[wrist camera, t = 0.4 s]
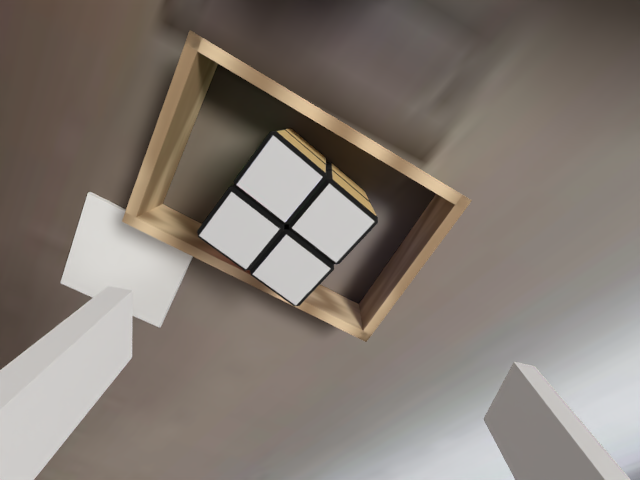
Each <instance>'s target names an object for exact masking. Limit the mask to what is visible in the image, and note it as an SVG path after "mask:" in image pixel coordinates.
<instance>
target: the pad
mask: <svg viewBox="0 0 640 480" xmlns="http://www.w3.org/2000/svg"><path fill="white" fill-rule="evenodd" d="M125 211H126V209H124V208H122V207H120V206H118V205H116V204H114V203H112V202H110V201H108V200H106V199H104V198H102V197H100V196H98V195H96V194H94V193H92V192H89V193H88V194H87V198H86V201H85V204H84V207H83V211H82V214H81V217H80V220H79V224H78V227H77V230H76V234H75V237H74V240H73V243H72V247H71V250H70V253H69V256H68V260H67V263H66V266H65V269H64V273H63V276H62V279H61V284H64V285H66V286H68V287H70V288H73V289H75V290H77V291H79V292H81V293H84V294H86V295H88V296H90V297H93V298H94V297H95V296H96V295H97V294H99V293H100V292H101V291H103V290H104V289H105V288H106V287H108V286H111V287H117V288H122V289H127V290H132V291H133V292H132V315H133V316H135V317H137V318H139V319H141V320H144V321H146V322H148V323H150V324H153V325H155V326H157V327H159V328H160V327H161V326H162V323H163V321H164V319H165V317H166V315H167V312H168V310H169V308H170V306H171V304H172V302H173V299H174V297H175V295H176V293H177V291H178V288H179V286H180V284H181V282H182V280H183V278H184V275H185V273H186V271H187V269H188V267H189V264H190V262H191V260H192V258H193V256H191V255H189V254H187V253H185V252H183V251H181V250H179V249H177V248H175V247H173V246H171V245H169V244H166V243H164V242H162V241H160V240H158V239H156V238H154V237H152V236H150V235H148V234H146V233H144V232H142V231H140V230H138V229H136V228H134V227H132V226H130V225H128V224H126V223H124V222H122V219H123V217H124V214H125Z"/></svg>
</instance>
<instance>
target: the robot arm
mask: <svg viewBox="0 0 640 480" xmlns="http://www.w3.org/2000/svg"><path fill="white" fill-rule="evenodd" d="M132 292H133V291H132V290H127V289H122V288H117V287H111V286H108V287H106V288H105V289H104V290H103V291H101V292H100V293H99V294H97V295H96V296H95V297H94V298H92V299H91V300H90V301H88V302H87V303H86V304H85V305H83V306H82V307H81V308H80V309H78V310H77V311H76V312H74V313H73V314H72V315H71V316H69V317H68V318H67V319H65V320H64V321H63V322H62V323H60V324H59V325H58V326H56V327H55V328H54V329H53V330H51V331H50V332H49V333H47V334H46V335H45V336H44V337H42V338H41V339H40V340H38V341H37V342H36V343H35V344H33V345H32V346H31V347H29V348H28V349H27V350H26V351H24V352H23V353H22V354H20V355H19V356H18V357H17V358H15V359H14V360H13V361H11V362H10V363H9V364H8V365H6V366H5V367H4V368H2V369H1V370H0V480H34V479H35V478H36V476H37V475H38V474H39V473H40V471H41V470H42V469H43V468H44V466H45V465H46V464H47V463H48V461H49V460H50V459H51V458H52V456H53V455H54V454H55V453H56V451H57V450H58V449H59V448H60V446H61V445H62V444H63V443H64V442H65V440H66V439H67V438H68V437H69V435H70V434H71V433H72V432H73V430H74V429H75V428H76V427H77V425H78V424H79V423H80V422H81V420H82V419H83V418H84V417H85V415H86V414H87V413H88V412H89V410H90V409H91V408H92V407H93V405H94V404H95V403H96V402H97V400H98V399H99V398H100V397H101V395H102V394H103V393H104V392H105V390H106V389H107V388H108V387H109V386H110V384H111V383H112V382H113V381H114V379H115V378H116V377H117V376H118V374H119V373H120V372H121V371H122V369H123V368H124V367H125V366H126V364H127V363H128V362H129V361H130V359H131V358H132ZM484 421H485V423H486V425H487V427H488V429H489V430H490V432H491V434H492V436H493V438H494V440H495V442H496V444H497V446H498V448H499V449H500V451H501V453H502V455H503V457H504V459H505V461H506V463H507V465H508V467H509V468H510V470H511V472H512V474H513V476H514V478H515V480H630V478H629V477H628V476H627V475H626V474H625V473H624V471H623V470H622V469H621V468H620V467H619V465H618V464H617V463H616V462H615V461H614V459H613V458H612V457H611V456H610V455H609V454H608V452H607V451H606V450H605V449H604V448H603V446H602V445H601V444H600V443H599V442H598V441H597V439H596V438H595V437H594V436H593V435H592V433H591V432H590V431H589V430H588V429H587V428H586V426H585V425H584V424H583V423H582V422H581V420H580V419H579V418H578V417H577V416H576V415H575V413H574V412H573V411H572V410H571V409H570V407H569V406H568V405H567V404H566V403H565V401H564V400H563V399H562V398H561V397H560V396H559V394H558V393H557V392H556V391H555V390H554V388H553V387H552V386H551V385H550V384H549V383H548V381H547V380H546V379H545V378H544V377H543V375H542V374H541V373H540V372H539V371H538V370H537V368H536V367H535V366H532V365H527V364H521V363H516V362H514V363H513V365H512V367H511V369H510V370H509V372H508V374H507V376H506V378H505V380H504V382H503V383H502V385H501V387H500V389H499V391H498V393H497V395H496V397H495V398H494V400H493V402H492V404H491V406H490V408H489V410H488V412H487V413H486V415H485V417H484Z"/></svg>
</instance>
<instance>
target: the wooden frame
mask: <svg viewBox="0 0 640 480" xmlns="http://www.w3.org/2000/svg"><path fill="white" fill-rule="evenodd" d="M218 64H220V65H221V66H223V67H225V68H226V69H228V70H230V71H231V72H233V73H235V74H236V75H238V76H240V77H242V78H243V79H245V80H247V81H248V82H250V83H252V84H253V85H255V86H257V87H258V88H260V89H262V90H263V91H265V92H267V93H268V94H270V95H272V96H273V97H275V98H277V99H278V100H280V101H282V102H283V103H285V104H287V105H289V106H290V107H292V108H294V109H295V110H297V111H299V112H300V113H302V114H304V115H305V116H307V117H309V118H310V119H312V120H314V121H315V122H317V123H319V124H320V125H322V126H324V127H325V128H327V129H329V130H330V131H332V132H334V133H335V134H337V135H339V136H341V137H342V138H344V139H346V140H347V141H349V142H351V143H352V144H354V145H356V146H357V147H359V148H361V149H362V150H364V151H366V152H367V153H369V154H371V155H372V156H374V157H376V158H377V159H379V160H381V161H382V162H384V163H386V164H388V165H389V166H391V167H393V168H394V169H396V170H398V171H399V172H401V173H403V174H404V175H406V176H408V177H409V178H411V179H413V180H414V181H416V182H418V183H419V184H421V185H423V186H424V187H426V188H428V189H429V190H431V191H433V192H434V193H436V195H435V196H434V198H433V199H432V201H431V202H430V203H429V205H428V206H427V208H426V209H425V211H424V212H423V213H422V215H421V216H420V218H419V219H418V221H417V222H416V223H415V225H414V226H413V228H412V229H411V231H410V232H409V233H408V235H407V236H406V238H405V239H404V241H403V242H402V243H401V245H400V246H399V248H398V249H397V250H396V252H395V253H394V255H393V256H392V258H391V259H390V260H389V262H388V263H387V265H386V266H385V268H384V269H383V270H382V272H381V273H380V275H379V276H378V278H377V279H376V280H375V282H374V283H373V285H372V286H371V288H370V289H369V290H368V292H367V293H366V295H365V296H364V298H363V299H362V300H361V302H360V303H359V304H357V303H355V302H353V301H351V300H349V299H347V298H345V297H344V296H342V295H340V294H338V293H336V292H334V291H332V290H330V289H328V288H326V287H324V286H322V285H319V286H318V287H317V288H316V289H315V290H314V291H313V292H312V293H311V294H310V295H309V296H308V297H307V298H306V299H305V300H304V302H303V303H302V304H301V305H300V306H294V307H296V308H298V309H300V310H302V311H305V312H307V313H309V314H311V315H313V316H315V317H317V318H319V319H321V320H323V321H325V322H327V323H329V324H331V325H333V326H335V327H337V328H339V329H341V330H343V331H345V332H347V333H349V334H351V335H353V336H355V337H357V338H359V339H361V340H363V341H365V342H367V340H368V339H369V338H370V336H371V335H372V334H373V332H374V331H375V330H376V328H377V327H378V326H379V324H380V323H381V321H382V320H383V319H384V317H385V316H386V315H387V313H388V312H389V311H390V309H391V308H392V307H393V305H394V304H395V303H396V301H397V300H398V299H399V297H400V296H401V295H402V293H403V292H404V291H405V289H406V288H407V287H408V285H409V284H410V283H411V281H412V280H413V279H414V277H415V276H416V275H417V273H418V272H419V271H420V269H421V268H422V267H423V265H424V264H425V263H426V261H427V260H428V259H429V257H430V256H431V255H432V253H433V252H434V251H435V249H436V248H437V247H438V245H439V244H440V243H441V241H442V240H443V239H444V237H445V236H446V234H447V233H448V232H449V230H450V229H451V228H452V226H453V225H454V224H455V222H456V221H457V220H458V218H459V217H460V216H461V214H462V213H463V212H464V210H465V209H466V208H467V206H468V205H469V204H470V202H471V201H472V200H470V199H468V198H467V197H465V196H463V195H462V194H460V193H458V192H457V191H455V190H453V189H452V188H450V187H449V186H447V185H445V184H444V183H442V182H440V181H439V180H437V179H435V178H434V177H432V176H430V175H429V174H427V173H425V172H424V171H422V170H420V169H419V168H417V167H415V166H414V165H412V164H410V163H409V162H407V161H405V160H404V159H402V158H401V157H399V156H397V155H396V154H394V153H392V152H391V151H389V150H387V149H386V148H384V147H382V146H381V145H379V144H377V143H376V142H374V141H372V140H371V139H369V138H367V137H366V136H364V135H362V134H361V133H359V132H357V131H356V130H354V129H353V128H351V127H349V126H348V125H346V124H344V123H343V122H341V121H339V120H338V119H336V118H334V117H333V116H331V115H329V114H328V113H326V112H324V111H323V110H321V109H319V108H318V107H316V106H314V105H313V104H311V103H309V102H308V101H306V100H305V99H303V98H301V97H300V96H298V95H296V94H295V93H293V92H291V91H290V90H288V89H286V88H285V87H283V86H281V85H280V84H278V83H276V82H275V81H273V80H271V79H270V78H268V77H266V76H265V75H263V74H261V73H260V72H258V71H257V70H255V69H253V68H252V67H250V66H248V65H247V64H245V63H243V62H242V61H240V60H238V59H237V58H235V57H233V56H232V55H230V54H228V53H227V52H225V51H223V50H222V49H220V48H218V47H217V46H215V45H213V44H212V43H210V42H209V41H207V40H205V39H204V38H202V37H200V36H199V35H197V34H195V33H194V32H192V31H189V34H188V37H187V40H186V42H185V45H184V48H183V51H182V54H181V57H180V59H179V62H178V65H177V68H176V71H175V73H174V76H173V79H172V82H171V85H170V87H169V90H168V93H167V96H166V99H165V101H164V104H163V107H162V110H161V113H160V116H159V118H158V121H157V124H156V127H155V130H154V132H153V135H152V138H151V141H150V144H149V146H148V149H147V152H146V155H145V158H144V160H143V163H142V166H141V169H140V172H139V175H138V177H137V180H136V183H135V186H134V189H133V191H132V194H131V197H130V200H129V203H128V205H127V208H126V211H125V214H124V217H123V219H122V222H124V223H126V224H128V225H130V226H132V227H134V228H136V229H138V230H140V231H142V232H144V233H146V234H148V235H150V236H152V237H154V238H156V239H158V240H160V241H162V242H164V243H166V244H169V245H171V246H173V247H175V248H177V249H179V250H181V251H183V252H185V253H187V254H189V255H191V256H193V257H195V258H197V259H199V260H201V261H203V262H205V263H207V264H209V265H211V266H213V267H215V268H217V269H219V270H221V271H223V272H225V273H227V274H229V275H231V276H233V277H235V278H238V279H240V280H242V281H244V282H246V283H248V284H250V285H252V286H254V287H256V288H258V289H260V290H262V291H264V292H266V293H268V294H270V295H272V296H274V297H276V298H278V299H280V300H282V301H284V302H286V303H288V304H290V303H289V302H287V301H286V300H284V299H283V298H282V297H280V296H279V295H277V294H276V293H275V292H273V291H272V290H271V289H269V288H268V287H266V286H265V285H264V284H262V283H261V282H259V281H258V280H257V279H255V278H254V277H252V276H251V273H250V270H246V271H244V270H243V269H242V268H240V267H239V266H238V265H236V264H235V263H233V262H232V261H231V260H229V259H228V258H226V257H225V256H224V255H222V254H221V253H219V252H218V251H217V250H215V249H214V248H212V247H211V246H210V245H208V244H207V243H206V242H204V241H203V240H201V239H200V238H199V237H198V235H197V230H198V229H199V228H200V226H201V225H202V224H201V223H199V222H197V221H195V220H193V219H191V218H189V217H187V216H185V215H183V214H181V213H179V212H177V211H175V210H173V209H171V208H169V207H167V206H165V205H164V204H163V202H164V199H165V197H166V194H167V192H168V189H169V187H170V184H171V181H172V179H173V176H174V174H175V171H176V169H177V166H178V164H179V161H180V159H181V156H182V154H183V151H184V149H185V146H186V144H187V141H188V138H189V136H190V133H191V131H192V128H193V126H194V123H195V121H196V118H197V116H198V113H199V111H200V108H201V106H202V103H203V101H204V98H205V95H206V93H207V90H208V88H209V85H210V83H211V80H212V78H213V75H214V73H215V70H216V68H217V65H218ZM290 305H291V304H290ZM292 306H293V305H292Z"/></svg>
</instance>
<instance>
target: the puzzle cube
mask: <svg viewBox="0 0 640 480" xmlns="http://www.w3.org/2000/svg"><path fill="white" fill-rule="evenodd" d="M377 223H378V218H377V215H376V213H375V211H374V209H373V207H372V205H371V203H370V201H369V199H368V197H367V195H366V193H365V191H364V190H363V189H362V188H360V187H359V186H358V185H357V184H356V183H355V182H353V181H352V180H351V179H350V178H349V177H347V176H346V175H345V174H344V173H343V172H342V171H340V170H339V169H338V168H337V167H336V166H335V165H333V164H332V163H326V158H325V157H324V156H323V155H322V154H321V153H319V152H318V151H317V150H316V149H315V148H314V147H312V146H311V145H310V144H309V143H308V142H307V141H305V140H304V139H303V138H302V137H301V136H300V135H298V134H297V133H296V132H295V131H294V130H293V129H291V128H287V129H282V130H278V131H272V132H270V133H269V134H268V135H267V137H266V138H265V139H264V141H263V142H262V143H261V145H260V146H259V148H258V149H257V150H256V152H255V153H254V154H253V156H252V157H251V158H250V160H249V161H248V163H247V164H246V165H245V167H244V168H243V169H242V171H241V172H240V173H239V175H238V176H237V177H236V179H235V180H234V185H232V186H231V187H229V188H228V190H227V191H226V192H225V194H224V195H223V197H222V198H221V199H220V201H219V202H218V203H217V205H216V206H215V207H214V209H213V210H212V211H211V213H210V214H209V216H208V217H207V218H206V220H205V221H204V222H203V224H202V225H201V226H200V228H199V229H198V230H197V235H198V237H199V238H200V239H201V240H203V241H204V242H206V243H207V244H208V245H210V246H211V247H212V248H214V249H215V250H217V251H218V252H219V253H221V254H222V255H224V256H225V257H226V258H228V259H229V260H231V261H232V262H233V263H235V264H236V265H238V266H239V267H240V268H242V269H243V270H244V271H246V270H250V273H251V276H252V277H254V278H255V279H257V280H258V281H259V282H261V283H262V284H264V285H265V286H266V287H268V288H269V289H271V290H272V291H273V292H275V293H276V294H277V295H279V296H280V297H282V298H283V299H284V300H286V301H287V302H289V303H290V304H291V305H293V306H300V305H301V304H302V303H303V302H304V300H305V299H306V298H307V297H308V296H309V295H310V294H311V293H312V292H313V291H314V290H315V289H316V288H317V287H318V286H319V285H320V284H321V282H322V281H323V280H324V279H325V278H326V277H327V276H328V275H329V274H330V273H331V272H332V271H333V270H334V264H339V263H340V262H341V261H342V260H343V259H344V258H345V257H346V256H347V255H348V254H349V253H350V252H351V251H352V250H353V249H354V247H355V246H356V245H357V244H358V243H359V242H360V241H361V240H362V239H363V238H364V237H365V236H366V235H367V234H368V233H369V232H370V231H371V229H372V228H373V227H374V226H375V225H376V224H377Z"/></svg>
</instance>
